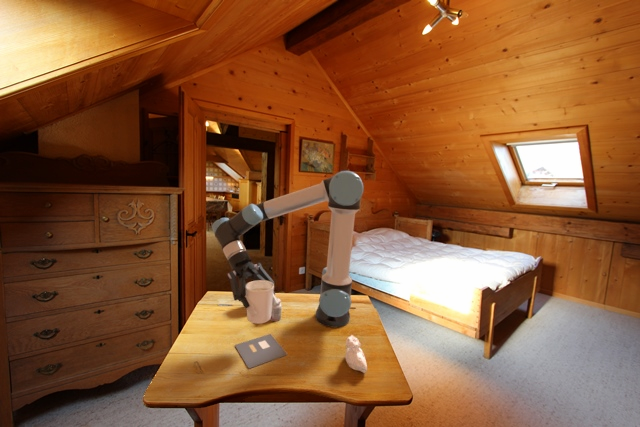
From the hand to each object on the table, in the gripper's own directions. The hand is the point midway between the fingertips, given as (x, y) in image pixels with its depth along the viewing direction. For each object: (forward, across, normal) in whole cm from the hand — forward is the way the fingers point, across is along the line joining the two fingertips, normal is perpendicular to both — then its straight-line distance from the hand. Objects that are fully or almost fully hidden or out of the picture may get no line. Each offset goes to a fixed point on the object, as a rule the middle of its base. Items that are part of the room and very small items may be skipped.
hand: (265, 309), depth 97 cm
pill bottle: (+2, -18, -20) cm, 27 cm away
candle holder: (+1, 0, -5) cm, 5 cm away
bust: (+31, -15, +8) cm, 36 cm away
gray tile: (+10, +1, -12) cm, 16 cm away
